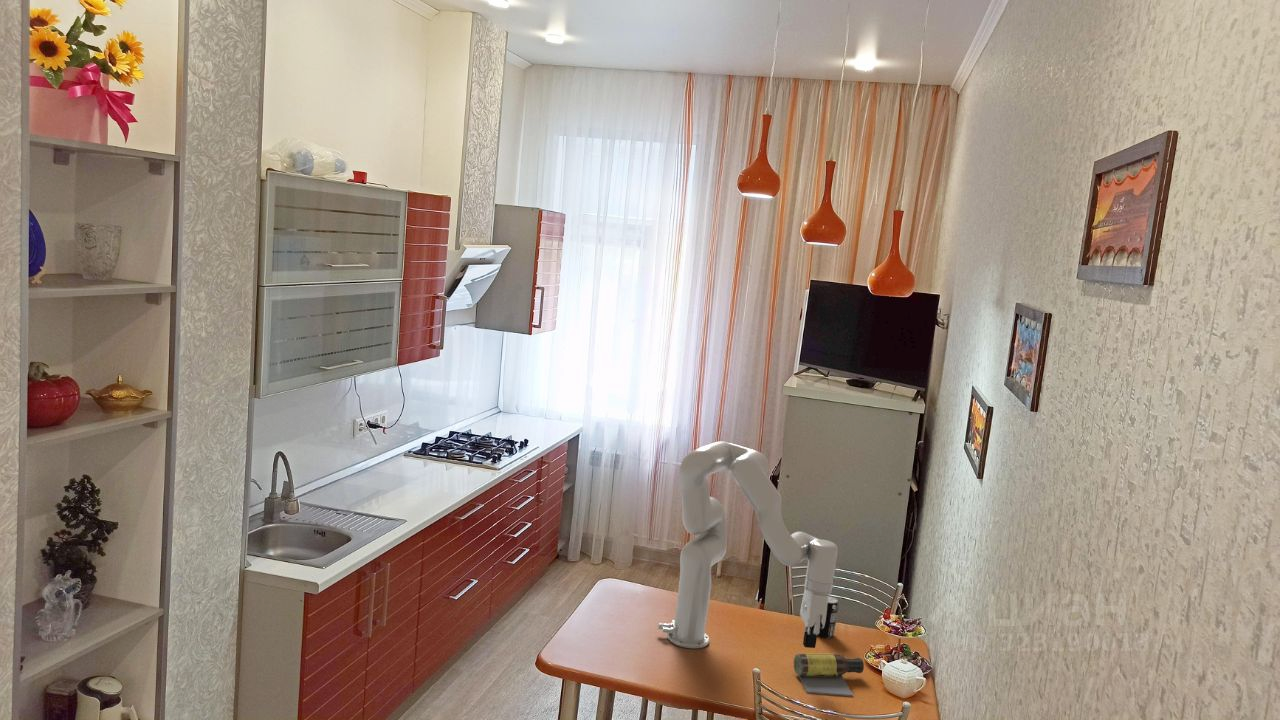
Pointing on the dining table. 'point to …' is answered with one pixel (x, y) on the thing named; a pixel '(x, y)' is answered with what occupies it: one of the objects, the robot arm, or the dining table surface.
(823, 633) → the beverage can
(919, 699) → the dining table surface
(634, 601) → the dining table surface
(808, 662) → the sauce bottle
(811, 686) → the mat
